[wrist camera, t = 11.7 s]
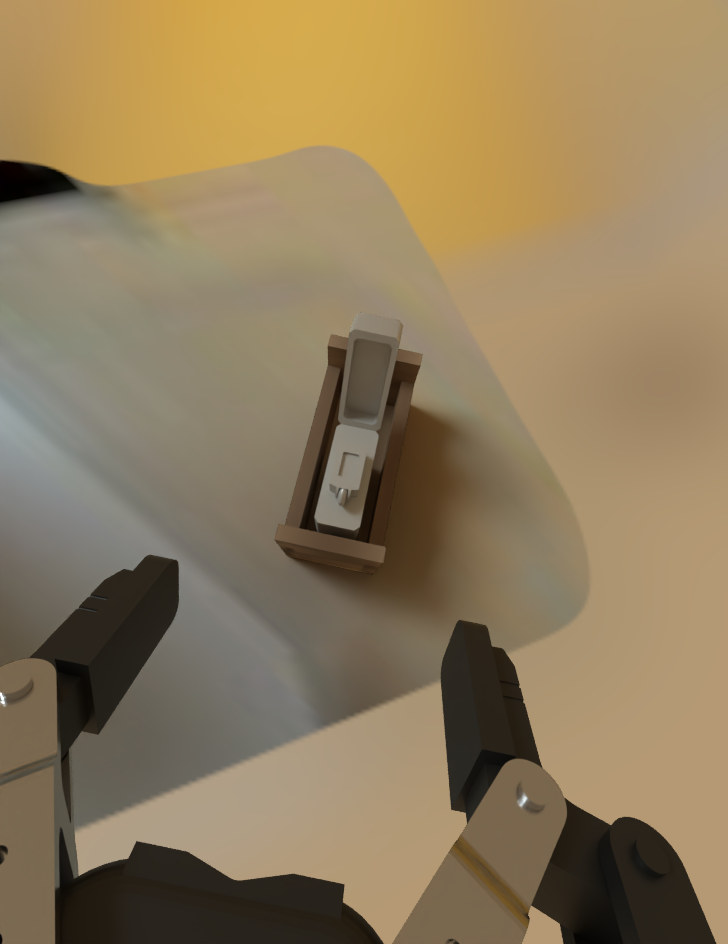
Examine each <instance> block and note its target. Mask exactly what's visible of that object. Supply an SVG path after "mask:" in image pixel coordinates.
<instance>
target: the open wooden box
mask: <svg viewBox="0 0 728 944" xmlns="http://www.w3.org/2000/svg"><path fill="white" fill-rule="evenodd" d="M348 339H349V338H346V337H341V336H337V335H332V334H331V336H330V339H329V343H328V367H327V371H326V375H325V379H324V382H323V386H322V390H321V393H320V397H319V401H318V404H317V408H316V412H315V416H314V419H313V423H312V427H311V430H310V434H309V438H308V441H307V445H306V449H305V452H304V456H303V460H302V464H301V467H300V471H299V475H298V478H297V482H296V486H295V489H294V493H293V497H292V501H291V504H290V508H289V512H288V515H287V519H286V523H285V525H282V524H278V528H277V532H276V535H275V539H274V540H275V541H276V542H277V544H278V545H279V546H280V547H281V549H282V550H283V551H284V553H285V554H286V555H287V556H290V557H295V558H299V559H304V560H309V561H313V562H318V563H322V564H327V565H331V566H336V567H341V568H345V569H350V570H354V571H359V572H364V573H368V574H374V573H375V572H376V570H377V569H378V568H379V567H380V566H381V565H382V564H383V562H384V556H385V551H386V547H383V545H384V540H385V534H386V529H387V524H388V519H389V513H390V508H391V503H392V498H393V493H394V487H395V482H396V477H397V472H398V466H399V461H400V456H401V451H402V445H403V440H404V435H405V430H406V424H407V419H408V414H409V409H410V404H411V398H412V393H413V388H414V383H415V380H416V377H417V374H418V371H419V368H420V365H421V360H422V355H423V354H420V353H415V352H411V351H406V350H401V349H398V353H397V357H396V362H395V366H394V371H393V375H392V379H391V384H390V388H389V393H388V397H387V401H386V406H385V410H384V415H383V419H382V423H381V428H380V429H379V430H377V431H376V432H377V434H378V435H379V437H378V442H377V447H376V452H375V456H374V461H373V466H372V471H371V476H370V480H369V485H368V490H367V495H366V500H365V505H364V509H363V514H362V519H361V524H360V528H359V532H358V535H357V539H356V541H355V540H351V539H346V538H342V537H337V536H332V535H328V534H323V533H319V532H317V528H316V523H315V518H314V517H315V512H316V508H317V504H318V500H319V496H320V492H321V488H322V484H323V480H324V476H325V472H326V468H327V463H328V459H329V455H330V451H331V447H332V443H333V439H334V435H335V431H336V427H337V426H338V425H340V424H341V423H340V422H339V421H338V415H339V407H340V399H341V392H342V384H343V377H344V369H345V362H346V354H347V346H348Z"/></svg>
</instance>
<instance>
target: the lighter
mask: <svg viewBox="0 0 728 944" xmlns="http://www.w3.org/2000/svg"><path fill="white" fill-rule="evenodd" d="M402 328H403V325H402V323H401V322H400V320H397V319H392V318H387V317H382V316H378V315H373V314H368V313H364V312H360V313H359V314H357V315H356V316H355V319H354V321H353V324H352V327H351V330H350V332H349V339H348V346H347V354H346V362H345V369H344V377H343V384H342V392H341V399H340V407H339V415H338V421H339V422H340V423H341V424H340V425H338V426H337V427H336V431H335V435H334V439H333V443H332V447H331V451H330V455H329V459H328V463H327V468H326V472H325V476H324V480H323V484H322V488H321V492H320V496H319V500H318V504H317V508H316V512H315V517H314V518H315V523H316V528H317V532H319V533H323V534H328V535H332V536H337V537H342V538H346V539H351V540H355V541H356V539H357V535H358V532H359V528H360V524H361V519H362V514H363V509H364V505H365V500H366V495H367V490H368V485H369V480H370V476H371V471H372V466H373V461H374V456H375V452H376V447H377V442H378V437H379V435H378V434H377V432H376V431H377V430H379V429H380V428H381V423H382V419H383V415H384V410H385V406H386V401H387V397H388V393H389V388H390V384H391V379H392V375H393V371H394V366H395V362H396V357H397V353H398V348H399V344H400V339H401V334H402Z"/></svg>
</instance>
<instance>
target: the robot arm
mask: <svg viewBox="0 0 728 944" xmlns="http://www.w3.org/2000/svg"><path fill="white" fill-rule="evenodd" d="M178 603H179V567H178V562H177V560H173V559H168V558H164V557H159V556H154V555H148V556H146V557H145V558H144V559H143V560H142V561H141V562H140V564H139V565H138V566H137V567H136V568H135V569H134V570H133V571H131V570H126V569H123V570H121V571H120V572H118V573H116V574H114V575H113V576H111V577H109V578H107V579H105V580H104V581H103V582H102V583H101V584H100V585H99V586H98V587H97V588H96V589H95V590H94V592H93V593H92V594H91V596H90V597H88V598H87V599H86V600H85V601H84V602H83V603H82V604H81V605H80V606H79V609H76V610H75V611H74V612H73V613H72V614H71V615H70V616H69V618H68V619H67V620H66V621H65V622H64V623H63V624H62V625H61V626H60V627H59V628H58V629H57V630H56V631H55V632H54V633H53V634H52V635H51V636H50V637H49V638H48V639H47V640H46V641H45V643H44V644H43V645H42V646H41V647H40V648H39V649H38V650H37V651H36V652H35V653H34V654H33V655H32V656H31V657H30V658H29V659H22V660H17V661H14V662H11V663H8V664H6V665H4V666H2V667H0V944H383V942H382V940H381V939H380V938H379V936H378V935H377V933H376V932H375V931H374V929H373V928H372V927H371V926H370V925H369V924H368V923H367V921H366V920H365V919H364V918H363V917H362V916H361V915H359V914H358V913H357V912H356V911H354V910H353V909H352V908H351V907H349V906H348V905H346V904H345V903H343V893H344V884H340V883H335V882H330V881H326V880H321V879H316V878H311V877H306V876H301V875H297V874H288V875H280V876H273V877H265V878H257V879H250V880H242V881H237V880H233V879H231V878H229V877H228V876H226V875H224V874H222V873H221V872H219V871H218V870H216V869H215V868H213V867H211V866H210V865H208V864H206V863H205V862H203V861H202V860H200V859H198V858H197V857H195V856H193V855H192V854H190V853H189V852H186V851H181V850H176V849H171V848H167V847H162V846H157V845H152V844H147V843H142V842H136V844H135V846H134V848H133V850H132V852H131V854H130V856H129V858H128V859H123V860H118V861H115V862H111V863H108V864H104V865H102V866H99V867H97V868H94V869H92V870H90V871H88V872H86V873H84V874H82V875H80V876H78V862H77V853H76V844H75V833H74V811H73V786H72V760H71V746H72V744H73V743H74V741H75V740H76V738H77V737H78V736H79V734H80V733H81V731H84V732H88V733H93V734H99V733H100V731H101V730H102V728H103V727H104V725H105V724H106V722H107V721H108V719H109V718H110V716H111V714H112V713H113V711H114V710H115V708H116V707H117V705H118V704H119V702H120V701H121V699H122V698H123V696H124V695H125V693H126V692H127V690H128V689H129V687H130V686H131V684H132V683H133V681H134V680H135V678H136V676H137V675H138V673H139V672H140V670H141V669H142V667H143V666H144V664H145V663H146V661H147V660H148V658H149V657H150V655H151V654H152V652H153V651H154V649H155V648H156V646H157V645H158V643H159V642H160V640H161V639H162V637H163V635H164V634H165V632H166V631H167V629H168V628H169V626H170V625H171V623H172V621H173V619H174V617H175V615H176V612H177V608H178ZM441 689H442V701H443V713H444V726H445V738H446V750H447V762H448V775H449V787H450V800H451V809H452V810H455V811H460V812H465V813H466V818H467V825H466V827H465V829H464V830H463V832H462V833H461V835H460V837H459V838H458V840H457V841H456V842H455V843H454V845H453V847H452V848H451V849H450V851H449V853H448V854H447V856H446V858H445V859H444V861H443V862H442V864H441V866H440V867H439V869H438V871H437V872H436V874H435V875H434V877H433V879H432V880H431V882H430V884H429V885H428V887H427V888H426V890H425V892H424V893H423V895H422V897H421V898H420V900H419V901H418V903H417V905H416V906H415V908H414V909H413V911H412V913H411V914H410V916H409V917H408V919H407V921H406V923H405V924H404V926H403V927H402V929H401V930H400V932H399V934H398V935H397V937H396V938H395V940H394V942H393V943H392V944H522V941H523V939H524V936H525V933H526V931H527V928H528V925H529V919H530V918H529V916H528V912H529V909H530V906H531V905H532V906H533V907H535V908H536V909H538V910H540V911H541V912H543V913H544V914H546V915H547V916H549V917H550V918H552V919H553V920H555V921H557V922H558V923H560V927H561V932H562V938H563V943H564V944H716V942H715V939H714V937H713V935H712V932H711V930H710V928H709V925H708V923H707V920H706V918H705V915H704V913H703V911H702V908H701V906H700V904H699V901H698V899H697V896H696V894H695V892H694V889H693V887H692V884H691V882H690V879H689V877H688V875H687V872H686V870H685V868H684V866H683V863H682V861H681V860H680V858H679V856H678V855H677V853H676V852H675V851H674V849H673V848H672V846H671V845H670V844H669V843H668V842H667V840H666V839H664V837H663V836H662V835H661V834H660V833H658V832H657V831H656V830H654V828H652V827H650V826H649V825H648V824H646V823H644V822H642V821H640V820H638V819H635V818H631V817H622V818H618V819H617V820H616V821H615V822H614V823H613V824H612V825H609V824H608V823H605V822H604V821H602V820H600V819H598V818H597V817H595V816H593V815H591V814H589V813H587V812H586V811H584V810H582V809H580V808H579V807H577V806H575V805H574V804H572V803H571V802H569V801H568V800H567V799H566V798H564V796H563V794H562V791H561V790H560V788H559V786H558V785H557V783H556V782H555V780H554V779H553V778H552V777H551V776H550V775H549V774H548V773H547V772H546V771H545V770H544V769H543V768H542V765H541V762H540V759H539V755H538V751H537V748H536V744H535V740H534V737H533V733H532V729H531V726H530V722H529V718H528V714H527V710H526V707H525V704H524V703H523V696H522V692H521V688H519V681H518V677H517V673H516V669H515V666H514V664H513V663H512V662H511V660H510V659H509V657H508V656H507V654H506V653H505V651H504V650H503V649H502V648H497V647H492V645H491V641H490V636H489V632H488V628H487V626H486V625H482V624H477V623H472V622H467V621H463V620H459V621H458V622H457V623H456V626H455V628H454V631H453V634H452V636H451V639H450V642H449V644H448V647H447V649H446V652H445V655H444V658H443V662H442V667H441Z"/></svg>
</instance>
